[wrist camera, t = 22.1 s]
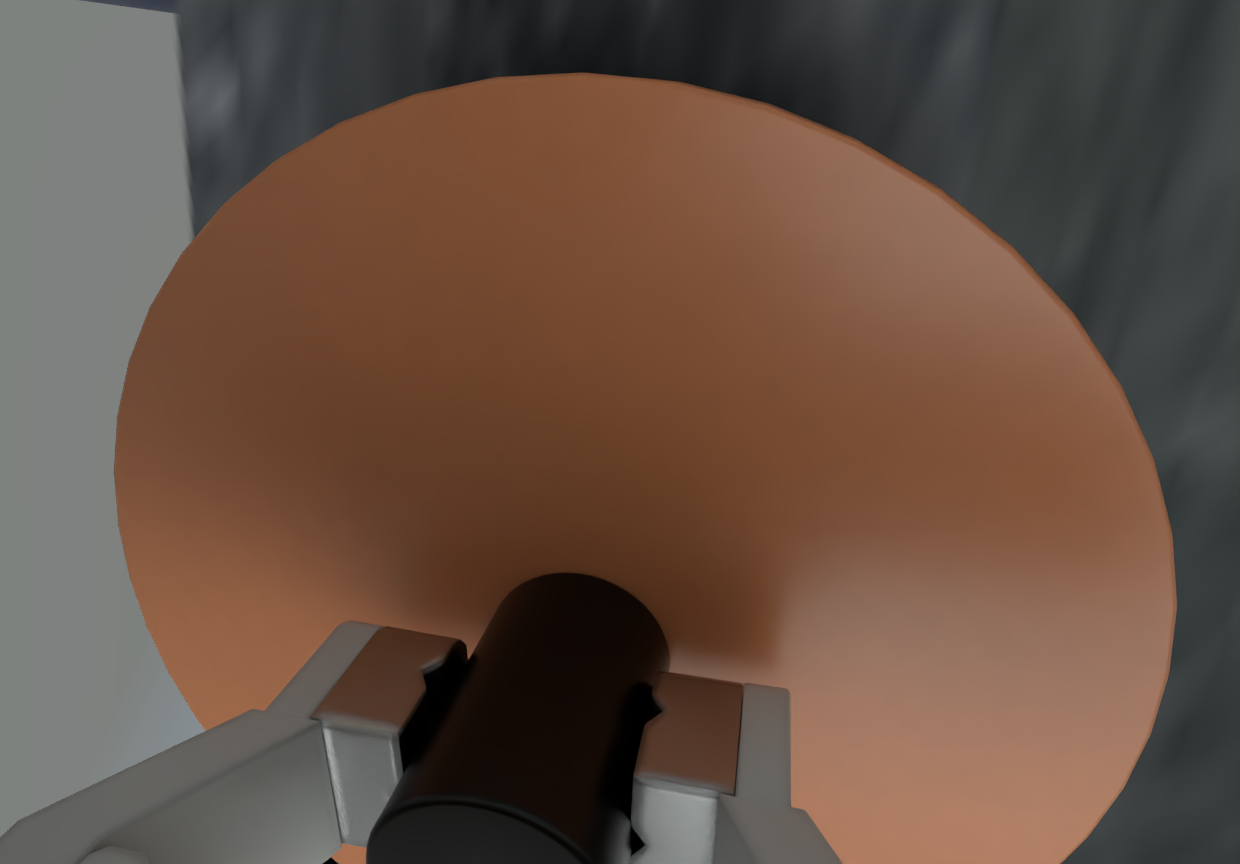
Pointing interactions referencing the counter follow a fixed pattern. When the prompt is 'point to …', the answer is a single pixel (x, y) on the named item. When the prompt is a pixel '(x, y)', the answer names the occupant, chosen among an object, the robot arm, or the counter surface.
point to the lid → (651, 471)
